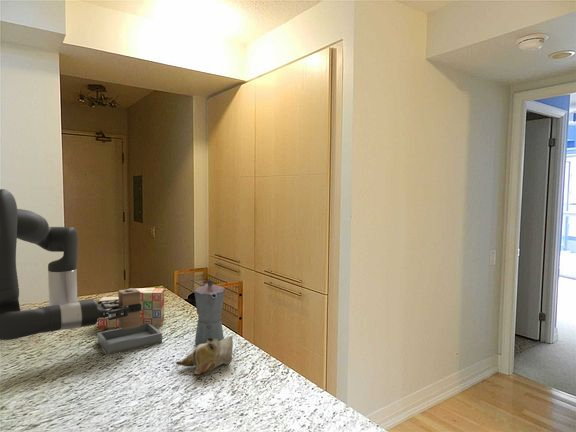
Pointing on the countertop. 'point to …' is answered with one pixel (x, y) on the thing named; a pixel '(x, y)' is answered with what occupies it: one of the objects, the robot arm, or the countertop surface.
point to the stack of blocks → (142, 308)
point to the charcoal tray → (128, 338)
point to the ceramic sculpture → (209, 355)
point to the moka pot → (209, 312)
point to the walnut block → (129, 299)
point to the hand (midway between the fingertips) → (137, 304)
